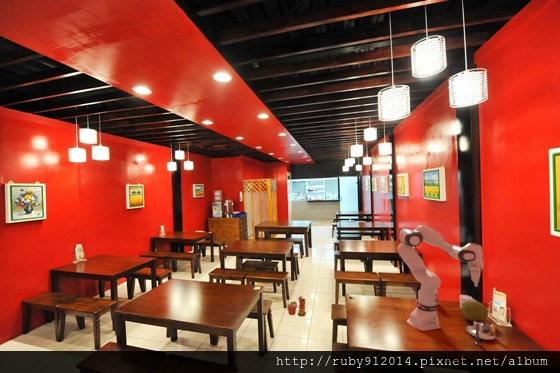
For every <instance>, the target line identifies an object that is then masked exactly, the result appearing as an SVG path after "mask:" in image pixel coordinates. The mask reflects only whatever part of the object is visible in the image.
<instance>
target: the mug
mask: <svg viewBox="0 0 560 373" xmlns="http://www.w3.org/2000/svg"><path fill="white" fill-rule="evenodd" d="M469 300H470V301H477V300H476V299H473V297H472V296H470V295H466V294H461V295H459V307H460V309H461V304H462V303H464V302H465V301H469Z"/></svg>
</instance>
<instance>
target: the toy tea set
mask: <svg viewBox="0 0 560 373" xmlns="http://www.w3.org/2000/svg"><path fill="white" fill-rule="evenodd" d="M297 300H298V302H299V304H298V305H297V301H291V302H290V303H288V304H287V306H286V307H287V308H286V310H287V313H288V316H295V315H296V314H297V316H298V317H301V318H302V317H303V318H304V317H305V316H306V314H307V311H306V299H305V298H304V297H302V295H300V296H299V297H298V298H297ZM297 308H299V309H298V313H297Z"/></svg>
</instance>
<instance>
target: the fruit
mask: <svg viewBox="0 0 560 373" xmlns="http://www.w3.org/2000/svg"><path fill="white" fill-rule="evenodd" d="M460 312H461V313H462V315H463V316H464V317H465V318H466V319H467V320H469V321H471V322H474V321H475V322H478V321H483V320H485V319H487V318H488V316H489V310H488V309H487V306H485V305H484V304H483V303H481V302H479V301H478V300H476V301H470V300H469V301H465V302H464V303H462V304H461V308H460Z"/></svg>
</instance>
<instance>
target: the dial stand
mask: <svg viewBox="0 0 560 373" xmlns="http://www.w3.org/2000/svg"><path fill="white" fill-rule="evenodd" d="M473 326H474V329H476V337H475V340H473V344H474V345H476V346H478V347H481V346H483V345H482V342H481V341H480V339H479V331H481V332H482V324H480V323H479V322H478V321H473Z"/></svg>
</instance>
